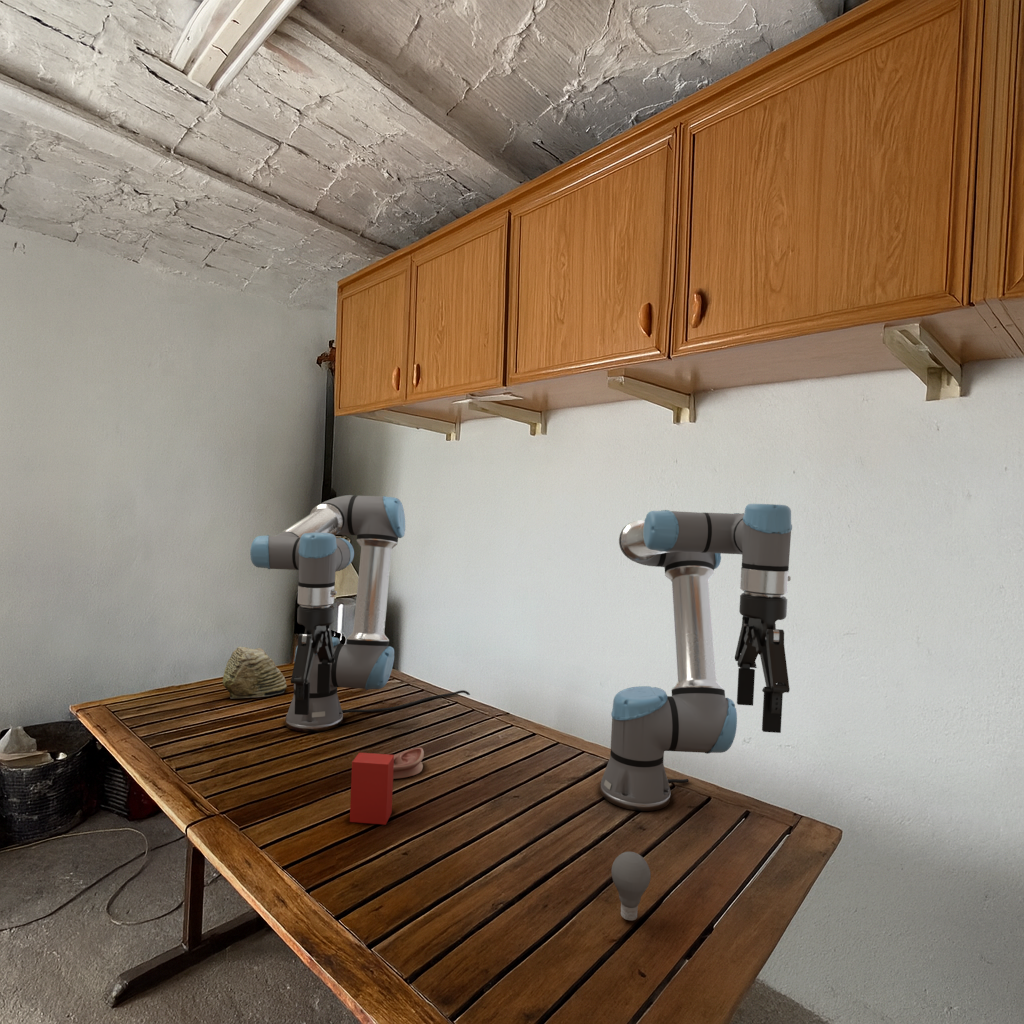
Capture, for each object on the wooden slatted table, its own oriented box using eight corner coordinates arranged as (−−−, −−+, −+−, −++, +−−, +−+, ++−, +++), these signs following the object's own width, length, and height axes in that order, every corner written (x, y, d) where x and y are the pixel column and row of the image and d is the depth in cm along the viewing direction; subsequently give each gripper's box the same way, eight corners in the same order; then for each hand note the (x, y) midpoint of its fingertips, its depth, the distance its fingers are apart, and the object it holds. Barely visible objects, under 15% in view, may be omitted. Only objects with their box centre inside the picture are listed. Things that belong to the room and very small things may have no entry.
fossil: (218, 695, 195) (220, 647, 195) (278, 685, 208) (279, 640, 207) (228, 703, 189) (230, 653, 188) (289, 692, 201) (290, 645, 201)
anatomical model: (356, 758, 144) (377, 740, 155) (356, 775, 144) (376, 756, 155) (412, 766, 141) (429, 746, 152) (411, 783, 141) (428, 763, 153)
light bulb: (605, 905, 101) (608, 843, 101) (642, 905, 102) (645, 843, 102) (614, 931, 95) (617, 865, 95) (653, 930, 96) (656, 865, 96)
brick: (349, 822, 124) (352, 761, 124) (356, 810, 129) (359, 752, 129) (385, 824, 124) (388, 764, 123) (391, 812, 128) (394, 754, 128)
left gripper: (313, 617, 123) (310, 725, 124) (350, 596, 148) (347, 685, 149) (275, 616, 123) (272, 723, 124) (318, 594, 148) (315, 684, 149)
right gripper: (817, 607, 96) (809, 746, 96) (761, 585, 120) (755, 696, 121) (766, 604, 96) (759, 743, 96) (721, 583, 121) (715, 693, 121)
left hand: (313, 703), depth 137 cm, fingers open, 13 cm apart
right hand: (757, 717), depth 109 cm, fingers open, 13 cm apart
